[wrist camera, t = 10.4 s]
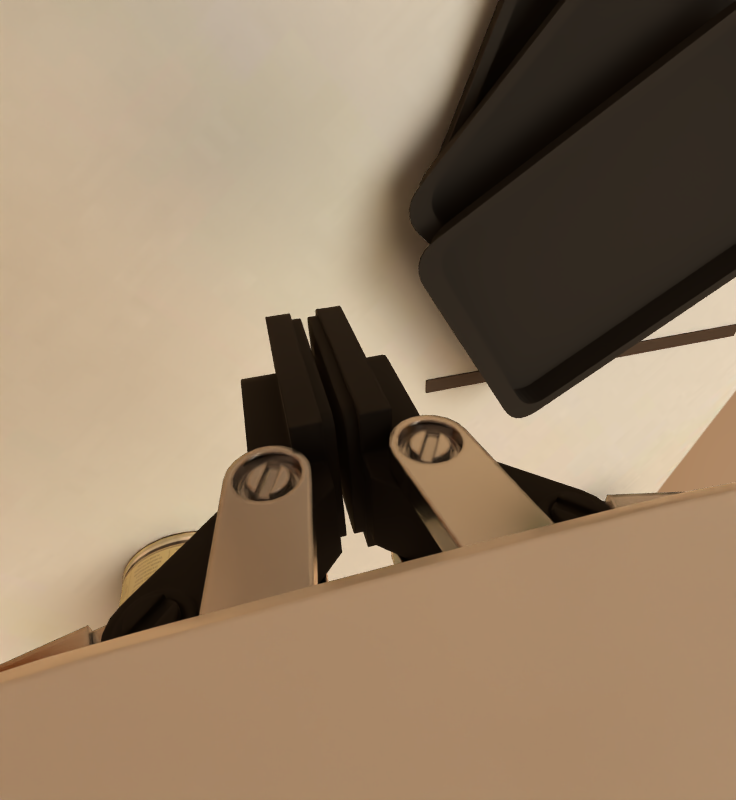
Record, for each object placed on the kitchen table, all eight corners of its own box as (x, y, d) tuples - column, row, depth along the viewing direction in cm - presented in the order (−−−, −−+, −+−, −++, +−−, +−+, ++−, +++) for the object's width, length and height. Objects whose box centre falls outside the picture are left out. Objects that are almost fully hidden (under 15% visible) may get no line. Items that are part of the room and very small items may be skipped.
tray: (509, -430, 16) (614, -602, 12) (933, -164, 23) (1091, -211, 19) (354, 371, 32) (375, 418, 27) (633, 378, 39) (683, 417, 35)
